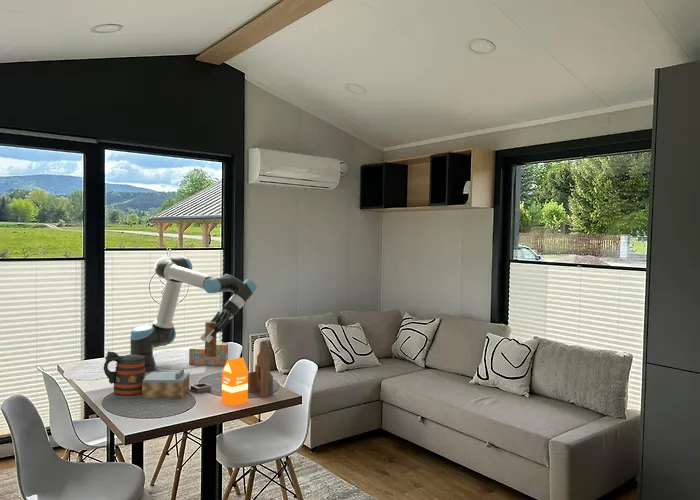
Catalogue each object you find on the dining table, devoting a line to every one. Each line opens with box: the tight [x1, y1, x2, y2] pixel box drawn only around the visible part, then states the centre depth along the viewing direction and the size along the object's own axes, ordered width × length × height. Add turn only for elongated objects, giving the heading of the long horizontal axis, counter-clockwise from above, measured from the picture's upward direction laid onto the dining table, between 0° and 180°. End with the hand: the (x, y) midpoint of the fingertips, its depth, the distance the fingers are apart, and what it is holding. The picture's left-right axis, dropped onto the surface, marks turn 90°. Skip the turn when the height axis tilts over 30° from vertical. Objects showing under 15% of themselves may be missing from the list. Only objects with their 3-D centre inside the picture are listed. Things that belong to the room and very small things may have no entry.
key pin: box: [204, 321, 217, 357], centre depth 269 cm, size 4×4×17 cm
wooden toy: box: [248, 340, 274, 399], centre depth 258 cm, size 15×7×25 cm, turn 42°
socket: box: [189, 382, 212, 394], centre depth 260 cm, size 7×7×2 cm
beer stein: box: [103, 350, 146, 396], centre depth 255 cm, size 19×15×20 cm
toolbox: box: [141, 375, 190, 399], centre depth 254 cm, size 18×14×7 cm
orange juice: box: [221, 357, 249, 407], centre depth 243 cm, size 8×9×20 cm
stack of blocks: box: [188, 341, 229, 366], centre depth 314 cm, size 21×6×12 cm, turn 89°
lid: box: [143, 367, 191, 383], centre depth 254 cm, size 18×14×4 cm
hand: (204, 340), depth 267 cm, fingers closed on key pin, 4 cm apart
